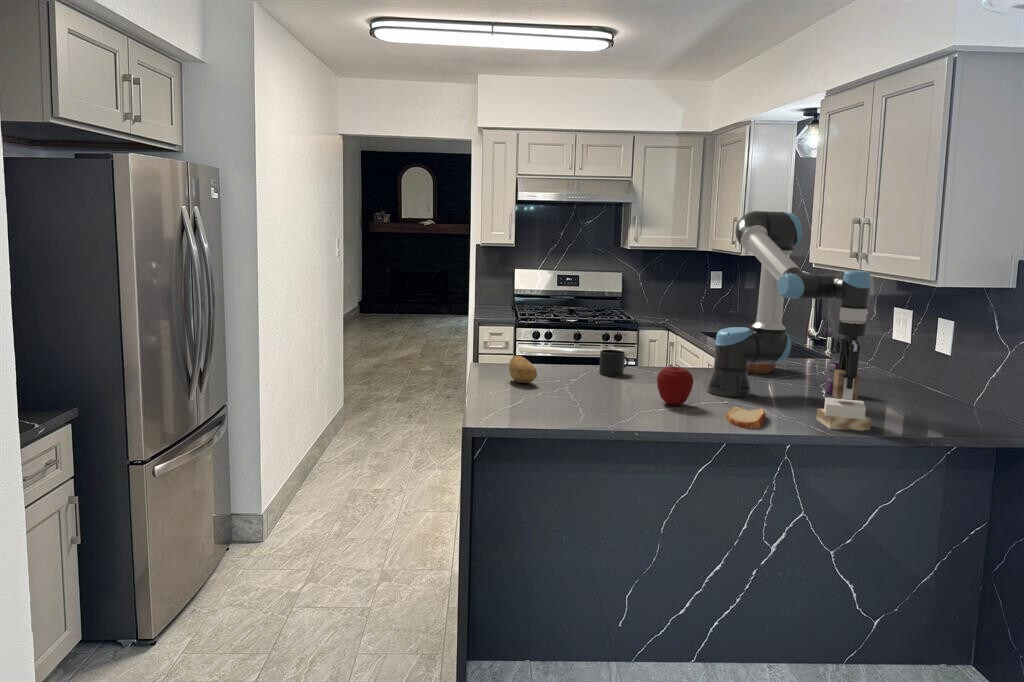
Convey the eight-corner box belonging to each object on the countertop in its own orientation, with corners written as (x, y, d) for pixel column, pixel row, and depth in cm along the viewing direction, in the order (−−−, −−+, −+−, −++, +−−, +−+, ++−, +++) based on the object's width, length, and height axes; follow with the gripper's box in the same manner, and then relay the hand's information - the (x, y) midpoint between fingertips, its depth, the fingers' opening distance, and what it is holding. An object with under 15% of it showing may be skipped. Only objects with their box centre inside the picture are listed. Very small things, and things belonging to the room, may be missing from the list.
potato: (516, 387, 282) (517, 361, 281) (504, 379, 297) (504, 354, 296) (539, 387, 285) (540, 361, 284) (526, 378, 300) (527, 353, 298)
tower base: (829, 430, 241) (830, 417, 240) (816, 420, 253) (817, 408, 252) (869, 432, 240) (871, 419, 240) (854, 422, 252) (855, 410, 252)
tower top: (825, 415, 243) (826, 404, 242) (824, 408, 253) (825, 397, 252) (864, 419, 239) (865, 408, 239) (861, 412, 249) (863, 401, 249)
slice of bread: (747, 431, 236) (748, 419, 235) (706, 417, 251) (707, 405, 251) (792, 426, 244) (793, 414, 243) (749, 412, 260) (750, 401, 259)
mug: (633, 376, 312) (634, 353, 311) (605, 376, 308) (607, 353, 307) (622, 371, 321) (623, 349, 320) (595, 372, 317) (596, 349, 316)
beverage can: (847, 396, 289) (850, 363, 287) (826, 394, 290) (829, 362, 289) (843, 392, 296) (846, 360, 294) (823, 390, 297) (826, 359, 295)
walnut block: (836, 398, 243) (838, 372, 242) (832, 394, 249) (834, 369, 248) (857, 400, 242) (859, 374, 241) (852, 396, 248) (855, 370, 247)
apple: (648, 401, 268) (650, 362, 266) (677, 399, 273) (680, 361, 271) (668, 409, 258) (671, 369, 255) (698, 407, 262) (701, 367, 260)
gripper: (873, 326, 232) (865, 404, 236) (857, 318, 251) (850, 391, 254) (846, 325, 233) (838, 402, 237) (832, 317, 252) (825, 389, 255)
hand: (844, 396), depth 246 cm, fingers closed on walnut block, 6 cm apart
